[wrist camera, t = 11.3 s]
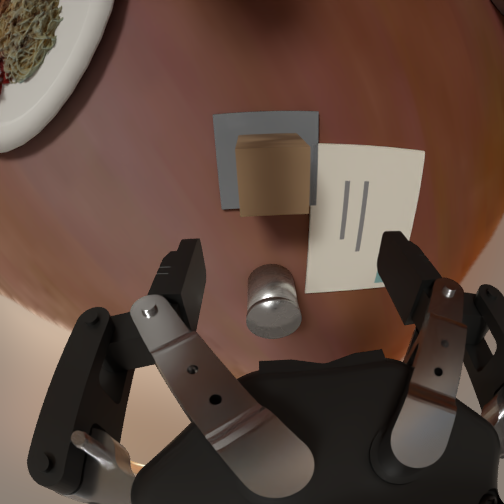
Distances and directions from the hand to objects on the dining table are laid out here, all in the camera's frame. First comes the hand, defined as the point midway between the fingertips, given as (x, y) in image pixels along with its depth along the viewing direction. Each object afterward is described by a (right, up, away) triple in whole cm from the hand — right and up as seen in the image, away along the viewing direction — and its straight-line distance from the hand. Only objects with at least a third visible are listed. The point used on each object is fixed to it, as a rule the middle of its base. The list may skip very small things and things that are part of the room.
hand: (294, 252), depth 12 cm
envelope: (+10, +3, +16) cm, 19 cm away
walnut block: (0, +8, +12) cm, 15 cm away
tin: (0, -3, +20) cm, 20 cm away
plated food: (-28, +25, +2) cm, 38 cm away
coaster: (0, +8, +12) cm, 15 cm away
